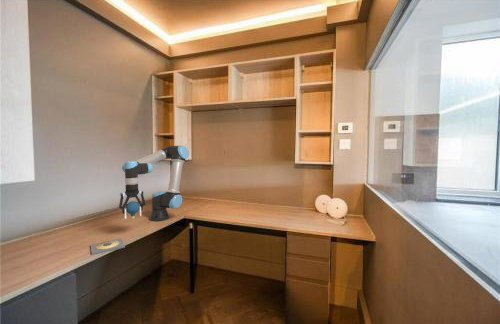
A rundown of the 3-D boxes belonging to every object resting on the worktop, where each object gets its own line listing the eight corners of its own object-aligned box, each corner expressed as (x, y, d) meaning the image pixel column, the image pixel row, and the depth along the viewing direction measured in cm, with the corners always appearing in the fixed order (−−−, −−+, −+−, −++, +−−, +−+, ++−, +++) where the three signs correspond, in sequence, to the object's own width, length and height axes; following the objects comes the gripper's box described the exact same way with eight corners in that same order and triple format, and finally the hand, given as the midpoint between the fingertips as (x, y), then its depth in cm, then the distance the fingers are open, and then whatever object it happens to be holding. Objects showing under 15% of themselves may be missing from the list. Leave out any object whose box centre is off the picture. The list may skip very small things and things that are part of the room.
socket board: (121, 239, 140) (121, 237, 140) (124, 247, 128) (124, 244, 128) (90, 245, 130) (90, 243, 130) (91, 255, 118) (91, 252, 118)
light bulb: (141, 218, 146) (141, 201, 145) (128, 221, 140) (127, 203, 139) (137, 216, 151) (136, 199, 151) (124, 218, 145) (123, 201, 145)
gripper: (147, 181, 154) (148, 212, 155) (112, 184, 141) (114, 218, 142) (150, 183, 148) (150, 215, 149) (114, 186, 135) (115, 221, 136)
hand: (132, 216), depth 146 cm, fingers closed on light bulb, 8 cm apart
